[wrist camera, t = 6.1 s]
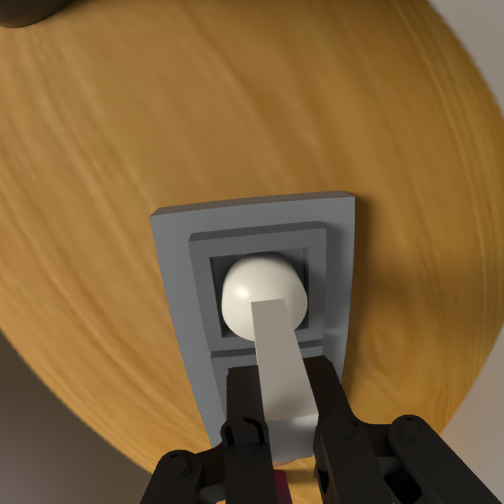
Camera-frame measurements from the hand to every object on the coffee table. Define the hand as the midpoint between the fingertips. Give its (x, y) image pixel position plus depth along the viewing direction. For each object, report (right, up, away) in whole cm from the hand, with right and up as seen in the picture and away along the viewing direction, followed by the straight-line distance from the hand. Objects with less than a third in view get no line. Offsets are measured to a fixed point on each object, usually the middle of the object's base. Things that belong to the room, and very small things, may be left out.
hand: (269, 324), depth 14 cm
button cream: (0, +1, +4) cm, 5 cm away
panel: (0, -5, +9) cm, 11 cm away
